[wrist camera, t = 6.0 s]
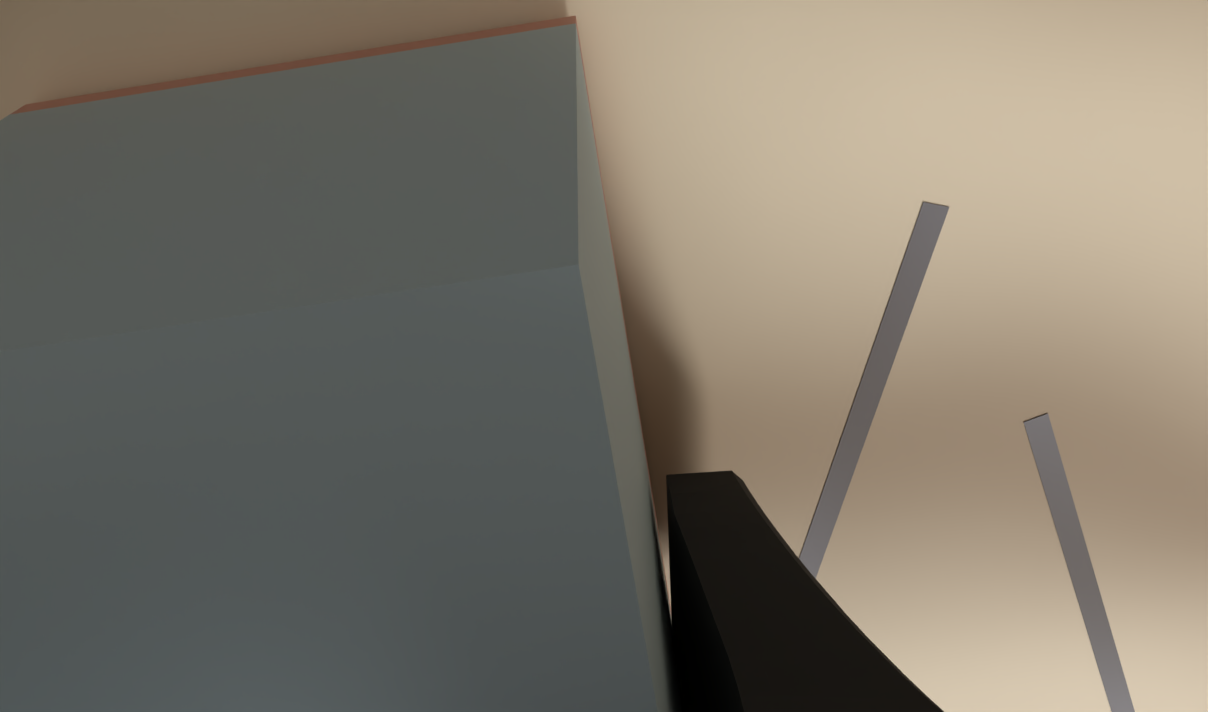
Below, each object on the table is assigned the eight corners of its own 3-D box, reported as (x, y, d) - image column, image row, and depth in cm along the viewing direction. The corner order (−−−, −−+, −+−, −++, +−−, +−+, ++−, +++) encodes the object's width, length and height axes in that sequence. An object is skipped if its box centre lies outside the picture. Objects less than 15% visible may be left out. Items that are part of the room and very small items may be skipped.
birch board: (1627, 799, 16) (1725, 894, 15) (-85, 915, 16) (-145, 1020, 15) (2222, -388, 9) (2495, -413, 8) (-653, -192, 10) (-854, -185, 8)
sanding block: (692, 743, 13) (757, 1270, 8) (298, 794, 13) (154, 1336, 8) (576, 16, 9) (578, 263, 5) (24, 104, 9) (-482, 425, 5)
